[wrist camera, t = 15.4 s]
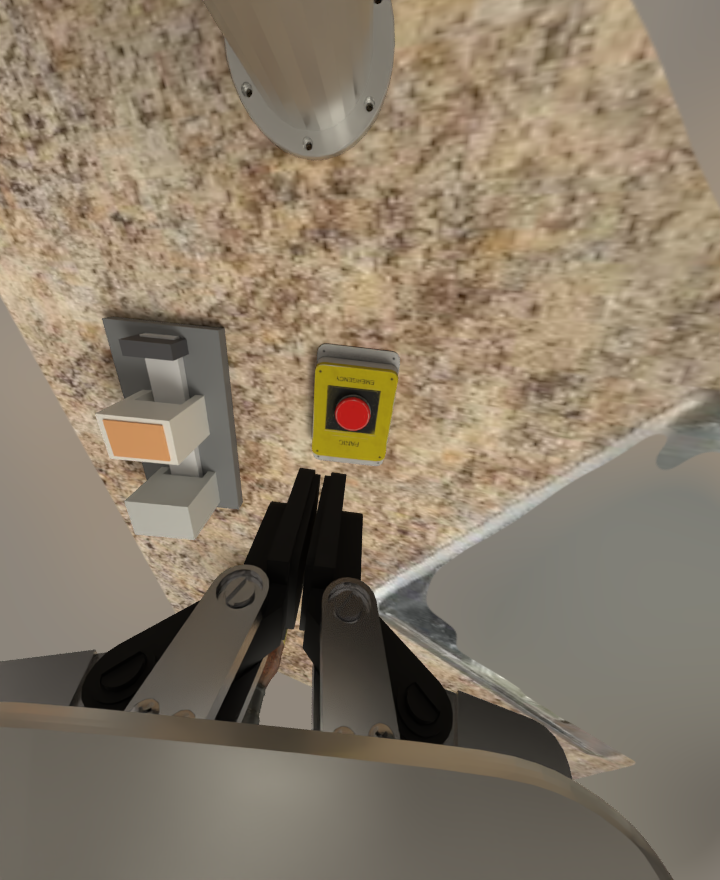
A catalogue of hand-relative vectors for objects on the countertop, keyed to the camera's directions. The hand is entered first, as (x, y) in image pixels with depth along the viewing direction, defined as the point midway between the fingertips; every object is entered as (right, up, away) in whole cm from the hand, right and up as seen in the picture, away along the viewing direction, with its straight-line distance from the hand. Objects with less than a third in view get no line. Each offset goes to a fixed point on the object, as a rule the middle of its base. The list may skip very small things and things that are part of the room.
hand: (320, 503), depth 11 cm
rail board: (-20, +4, +28) cm, 35 cm away
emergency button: (+1, +6, +27) cm, 28 cm away
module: (-20, +6, +26) cm, 33 cm away
